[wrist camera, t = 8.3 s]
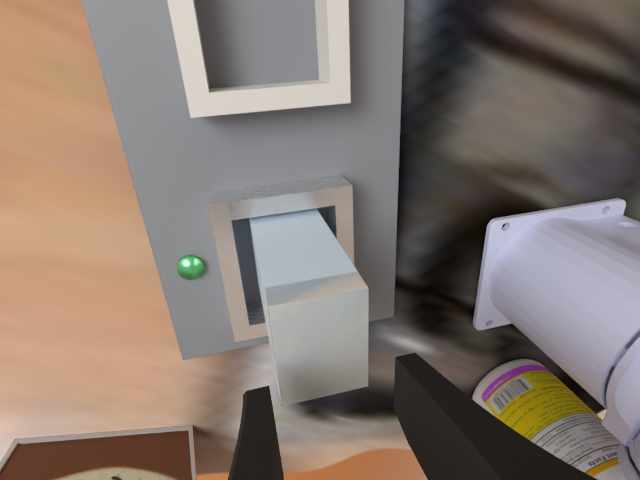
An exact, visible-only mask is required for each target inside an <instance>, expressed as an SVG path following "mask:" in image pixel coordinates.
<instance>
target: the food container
mask: <svg viewBox="0 0 640 480" xmlns="http://www.w3.org/2000/svg"><path fill="white" fill-rule="evenodd" d="M0 480H197V478H196V464H195V451H194V437H193V425H188V426H175V427H163V428H150V429H137V430H125V431H112V432H99V433H87V434H74V435H61V436H49V437H36V438H23V439H15V440H14V442H13V443H12V445H11V446H10V448H9V449H8V451H7V453H6V454H5V456H4V457H3V459H2V460H1V462H0Z"/></svg>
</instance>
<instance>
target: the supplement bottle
mask: <svg viewBox="0 0 640 480" xmlns="http://www.w3.org/2000/svg"><path fill="white" fill-rule="evenodd" d="M472 399H473V400H474V401H475V402H476V403H478V404H479V405H480V406H482V407H483V408H484V409H486V410H487V411H488V412H490V413H491V414H492V415H494V416H495V417H496V418H498V419H499V420H501V421H502V422H504V423H505V424H506V425H508V426H509V427H511V428H512V429H514V430H515V431H517V432H518V433H519V434H521V435H522V436H524V437H525V438H527V439H529V440H530V441H532V442H533V443H535V444H536V445H538V446H540V447H541V448H543V449H545V450H546V451H548V452H549V453H551V454H553V455H554V456H556V457H558V458H559V459H561V460H563V461H565V462H566V463H568V464H570V465H572V466H573V467H575V468H577V469H579V470H581V471H583V472H584V473H586V474H588V475H590V476H592V477H594V478H596V479H598V480H626V478H625V476H624V474H623V472H622V470H621V468H620V465H619V461H618V453H617V452H618V448H619V445H620V443H621V442H620V441H619V440H618V439H617V438H616V437H615V436H614V435H613V434H612V433H611V432H610V431H609V430H607V429H606V428H605V427H604V426H603V425H602V421H603V420H601V419H600V418H599V417H598V416H597V415H596V414H595V413H594V412H593V411H592V410H591V409H590V408H589V407H588V406H587V405H585V404H584V403H583V402H582V401H581V400H580V399H579V398H578V397H577V396H576V395H575V394H574V393H573V392H572V391H571V390H570V389H568V388H567V387H566V386H565V385H564V384H563V383H562V382H561V381H560V380H559V379H558V378H557V377H556V376H554V375H553V374H552V373H551V372H550V371H549V370H548V369H547V368H546V367H545V366H543V365H542V364H541V363H539V362H537V361H534V360H530V359H518V360H513V361H510V362H506V363H504V364H502V365H500V366H498V367H496V368H495V369H493V370H492V371H491V372H489V373H488V374H487V375H486V376H485V377H484V378H483V379H482V380H481V381H480V383H479V384H478V385H477V387H476V389H475V391H474V393H473V396H472Z"/></svg>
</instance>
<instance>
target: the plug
mask: <svg viewBox="0 0 640 480" xmlns="http://www.w3.org/2000/svg"><path fill="white" fill-rule="evenodd" d="M249 223H250V230H251V237H252V244H253V251H254V258H255V265H256V272H257V279H258V285H259V290H260V295H261V301H262V306H263V311H264V316H265V322H266V327H267V332H268V337H269V343H270V348H271V353H272V359H273V364H274V369H275V374H276V380H277V385H278V390H279V395H280V401H281V406H285V405H290V404H294V403H298V402H302V401H307V400H311V399H315V398H320V397H324V396H328V395H332V394H337V393H341V392H345V391H349V390H354V389H358V388H362V387H367V386H368V308H369V288H368V287H367V285H366V283H365V282H364V280H363V279H362V277H361V276H360V274H359V273H358V271H357V270H356V268H355V267H354V265H353V264H352V262H351V261H350V259H349V257H348V256H347V254H346V253H345V251H344V250H343V248H342V247H341V245H340V244H339V242H338V241H337V239H336V238H335V236H334V234H333V233H332V231H331V230H330V228H329V227H328V225H327V224H326V222H325V221H324V219H323V218H322V216H321V215H320V213H319V212H318V210H317V208H314V209H307V210H300V211H293V212H287V213H280V214H273V215H266V216H259V217H252V218H249Z"/></svg>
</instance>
